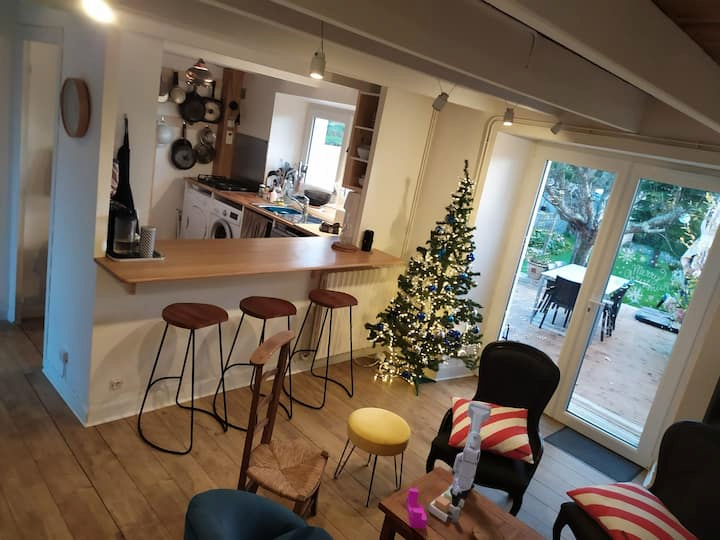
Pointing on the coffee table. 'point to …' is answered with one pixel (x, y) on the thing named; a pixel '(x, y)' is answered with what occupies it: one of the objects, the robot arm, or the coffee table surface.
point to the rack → (439, 513)
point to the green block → (448, 495)
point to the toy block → (415, 510)
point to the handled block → (447, 508)
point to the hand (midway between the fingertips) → (458, 502)
